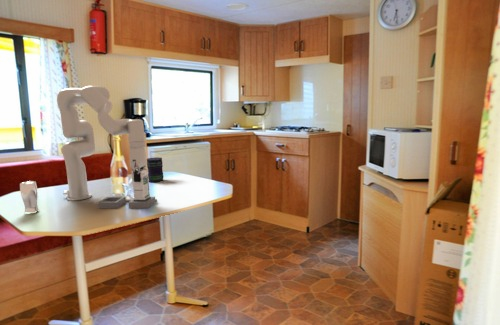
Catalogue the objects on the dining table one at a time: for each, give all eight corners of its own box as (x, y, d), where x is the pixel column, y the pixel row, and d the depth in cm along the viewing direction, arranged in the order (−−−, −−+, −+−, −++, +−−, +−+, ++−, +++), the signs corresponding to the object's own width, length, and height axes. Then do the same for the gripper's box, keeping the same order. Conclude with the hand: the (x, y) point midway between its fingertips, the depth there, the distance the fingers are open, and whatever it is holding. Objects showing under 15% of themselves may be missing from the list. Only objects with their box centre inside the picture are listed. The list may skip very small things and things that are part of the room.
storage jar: (167, 180, 235) (165, 158, 232) (155, 183, 226) (154, 160, 224) (156, 178, 240) (154, 157, 237) (145, 181, 232) (143, 159, 229)
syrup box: (144, 200, 176) (142, 171, 174) (133, 199, 177) (131, 171, 175) (150, 196, 182) (147, 169, 179) (139, 196, 183) (136, 169, 180)
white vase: (37, 209, 178) (32, 180, 175) (42, 211, 174) (38, 182, 171) (21, 213, 173) (16, 183, 170) (26, 215, 168) (22, 185, 166)
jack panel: (98, 208, 177) (97, 202, 177) (109, 201, 189) (109, 195, 189) (148, 208, 175) (147, 202, 174) (156, 201, 187) (156, 195, 186)
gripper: (136, 142, 183) (139, 176, 187) (122, 147, 167) (125, 184, 170) (150, 142, 183) (153, 176, 186) (137, 147, 166) (140, 184, 169)
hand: (140, 179), depth 178 cm, fingers closed on syrup box, 6 cm apart
